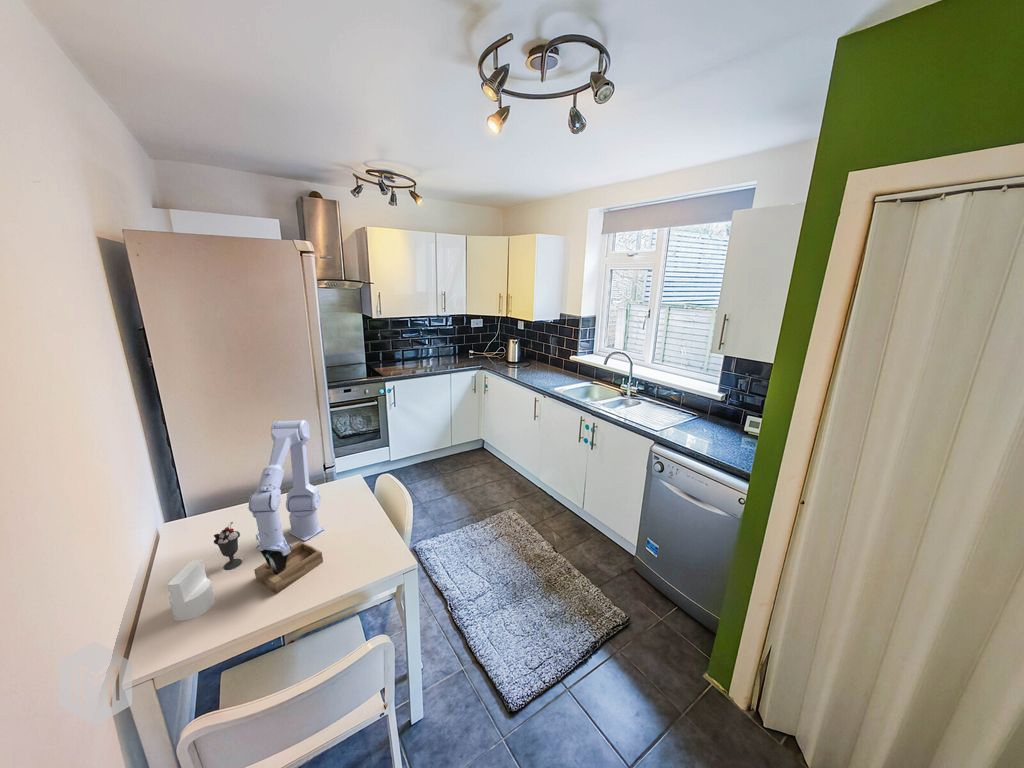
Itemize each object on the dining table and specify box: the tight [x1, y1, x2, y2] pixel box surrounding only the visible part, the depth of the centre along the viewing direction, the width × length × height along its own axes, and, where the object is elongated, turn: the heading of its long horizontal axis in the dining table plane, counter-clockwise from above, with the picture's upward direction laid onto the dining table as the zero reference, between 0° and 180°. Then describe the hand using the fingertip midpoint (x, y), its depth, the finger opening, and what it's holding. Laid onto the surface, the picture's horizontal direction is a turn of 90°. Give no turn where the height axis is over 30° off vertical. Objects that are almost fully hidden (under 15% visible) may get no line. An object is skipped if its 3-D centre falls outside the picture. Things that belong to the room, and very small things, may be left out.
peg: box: [266, 550, 286, 575], centre depth 115 cm, size 5×5×8 cm
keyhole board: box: [253, 540, 324, 594], centre depth 119 cm, size 11×15×4 cm
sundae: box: [213, 521, 243, 571], centre depth 120 cm, size 7×7×15 cm
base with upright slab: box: [167, 559, 216, 622], centre depth 104 cm, size 9×9×12 cm
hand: (277, 566), depth 115 cm, fingers closed on peg, 4 cm apart
